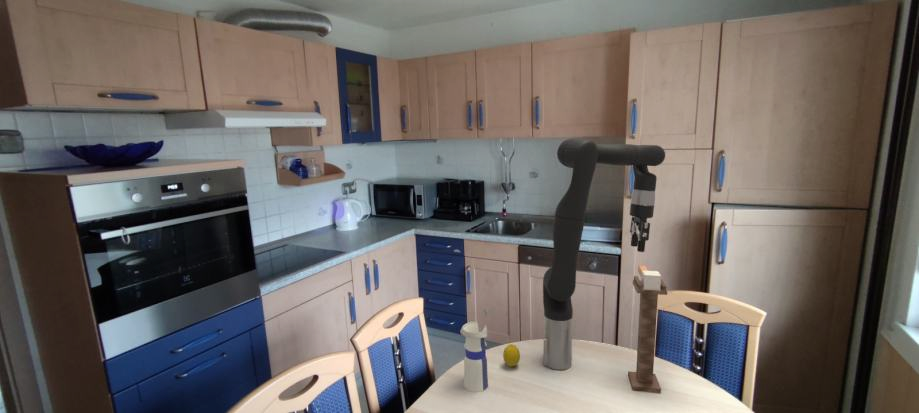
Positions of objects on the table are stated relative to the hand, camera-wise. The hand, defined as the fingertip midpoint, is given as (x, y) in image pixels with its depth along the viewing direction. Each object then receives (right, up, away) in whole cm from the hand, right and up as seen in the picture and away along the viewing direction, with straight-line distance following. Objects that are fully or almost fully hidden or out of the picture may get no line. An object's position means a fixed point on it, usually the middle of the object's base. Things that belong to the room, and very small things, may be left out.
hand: (637, 248), depth 149 cm
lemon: (-45, -39, -6) cm, 60 cm away
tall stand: (-5, -40, -18) cm, 44 cm away
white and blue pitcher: (-57, -41, -15) cm, 72 cm away
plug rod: (-5, -8, -19) cm, 21 cm away
